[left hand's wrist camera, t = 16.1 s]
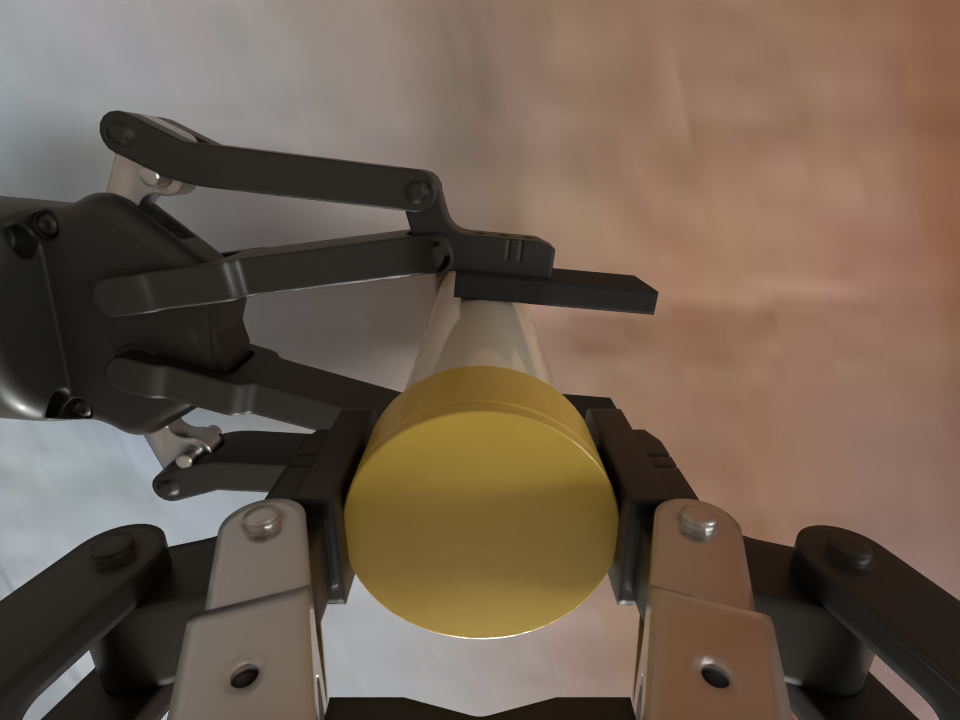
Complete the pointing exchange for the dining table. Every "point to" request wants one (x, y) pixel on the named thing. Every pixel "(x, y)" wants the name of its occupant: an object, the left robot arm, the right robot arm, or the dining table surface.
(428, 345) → the white bottle
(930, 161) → the dining table surface
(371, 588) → the lid
